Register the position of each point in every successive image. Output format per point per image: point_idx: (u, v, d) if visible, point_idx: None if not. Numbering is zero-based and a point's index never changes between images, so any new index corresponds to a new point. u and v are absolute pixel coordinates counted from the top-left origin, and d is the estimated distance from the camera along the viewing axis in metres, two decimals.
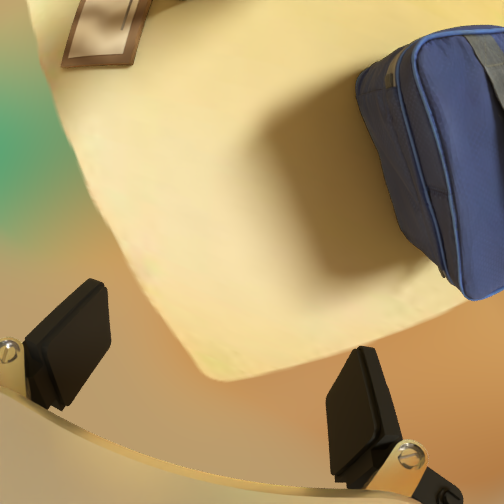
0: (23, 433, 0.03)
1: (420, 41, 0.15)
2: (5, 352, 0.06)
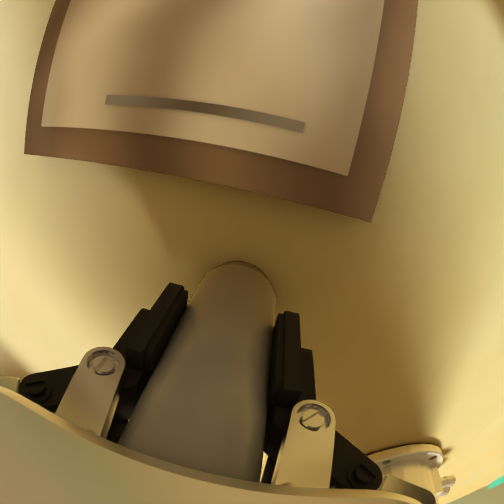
0: (23, 433, 0.03)
1: None
2: (100, 363, 0.07)
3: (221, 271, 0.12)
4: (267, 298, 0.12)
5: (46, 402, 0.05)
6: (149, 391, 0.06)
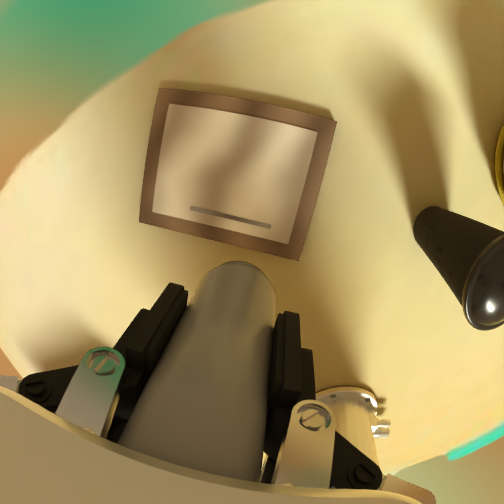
0: (23, 433, 0.03)
1: None
2: (100, 363, 0.07)
3: (221, 271, 0.12)
4: (267, 298, 0.11)
5: (46, 402, 0.05)
6: (149, 391, 0.06)
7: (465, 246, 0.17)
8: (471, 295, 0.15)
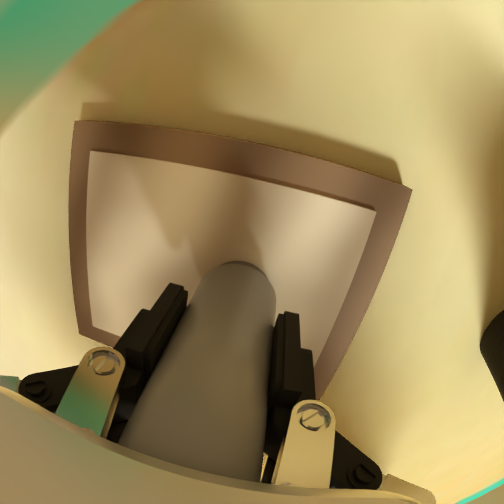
0: (23, 433, 0.03)
1: None
2: (100, 363, 0.07)
3: (221, 271, 0.12)
4: (267, 298, 0.11)
5: (46, 402, 0.05)
6: (149, 391, 0.06)
7: None
8: None
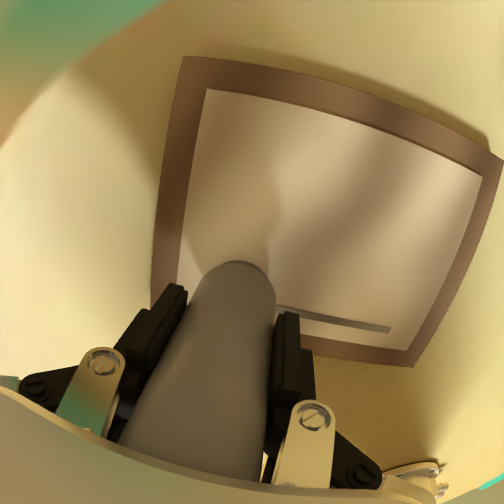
0: (23, 433, 0.03)
1: None
2: (100, 363, 0.07)
3: (221, 271, 0.12)
4: (267, 297, 0.11)
5: (46, 402, 0.05)
6: (149, 390, 0.06)
7: None
8: None
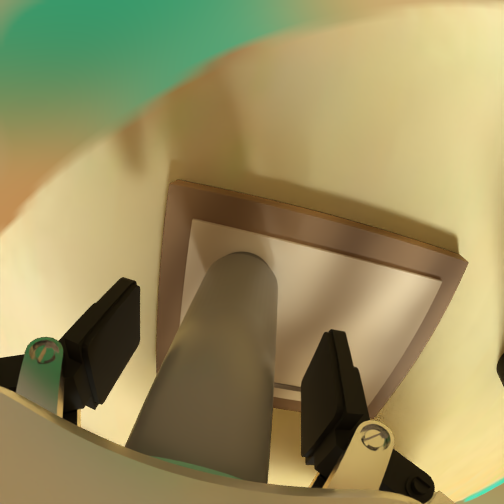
0: (23, 433, 0.03)
1: None
2: (42, 352, 0.06)
3: (227, 260, 0.13)
4: (270, 284, 0.13)
5: None
6: (168, 364, 0.07)
7: None
8: None
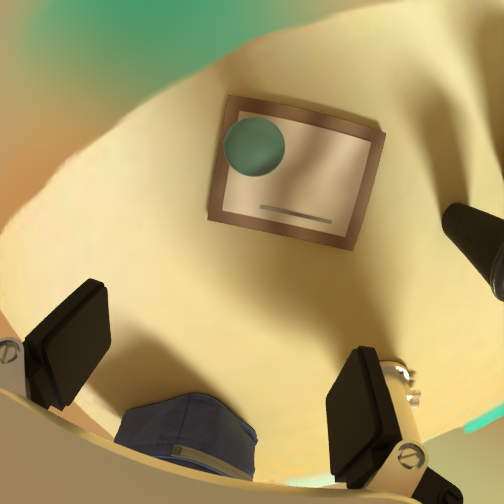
0: (23, 433, 0.03)
1: None
2: (5, 352, 0.06)
3: None
4: None
5: None
6: None
7: (490, 237, 0.21)
8: (497, 274, 0.19)
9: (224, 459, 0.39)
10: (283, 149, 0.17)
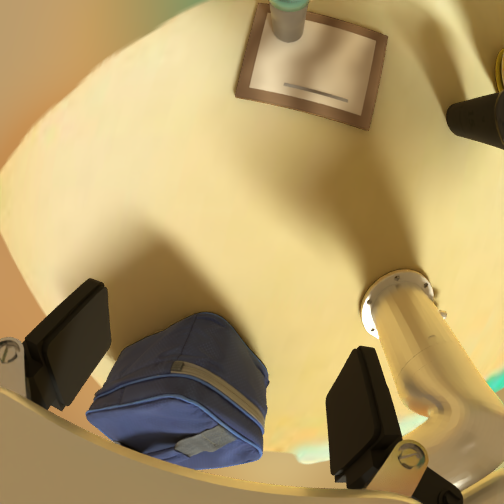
0: (23, 433, 0.03)
1: (191, 402, 0.30)
2: (5, 352, 0.06)
3: None
4: None
5: None
6: None
7: (487, 99, 0.20)
8: (500, 120, 0.19)
9: (233, 385, 0.37)
10: None
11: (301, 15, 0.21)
